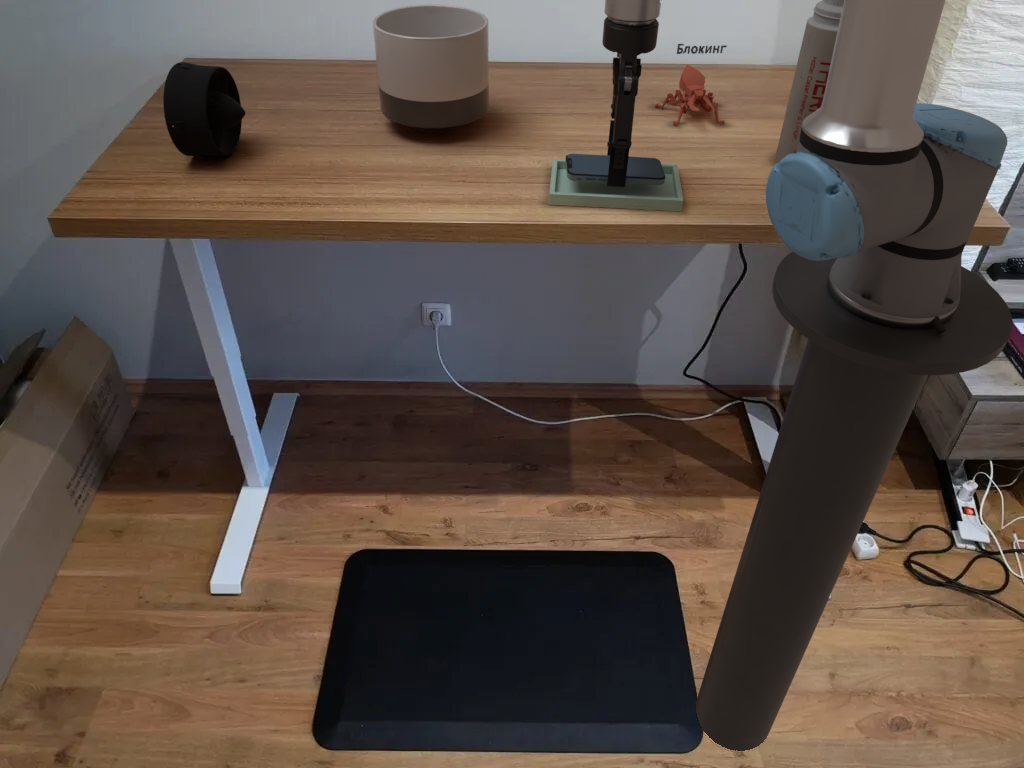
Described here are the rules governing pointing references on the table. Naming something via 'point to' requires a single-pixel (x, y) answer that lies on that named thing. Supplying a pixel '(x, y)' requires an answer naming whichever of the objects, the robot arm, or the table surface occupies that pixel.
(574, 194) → the green tray
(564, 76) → the table surface
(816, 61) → the thermos bottle
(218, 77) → the black ducted fan
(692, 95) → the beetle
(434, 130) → the planter
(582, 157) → the smartphone
